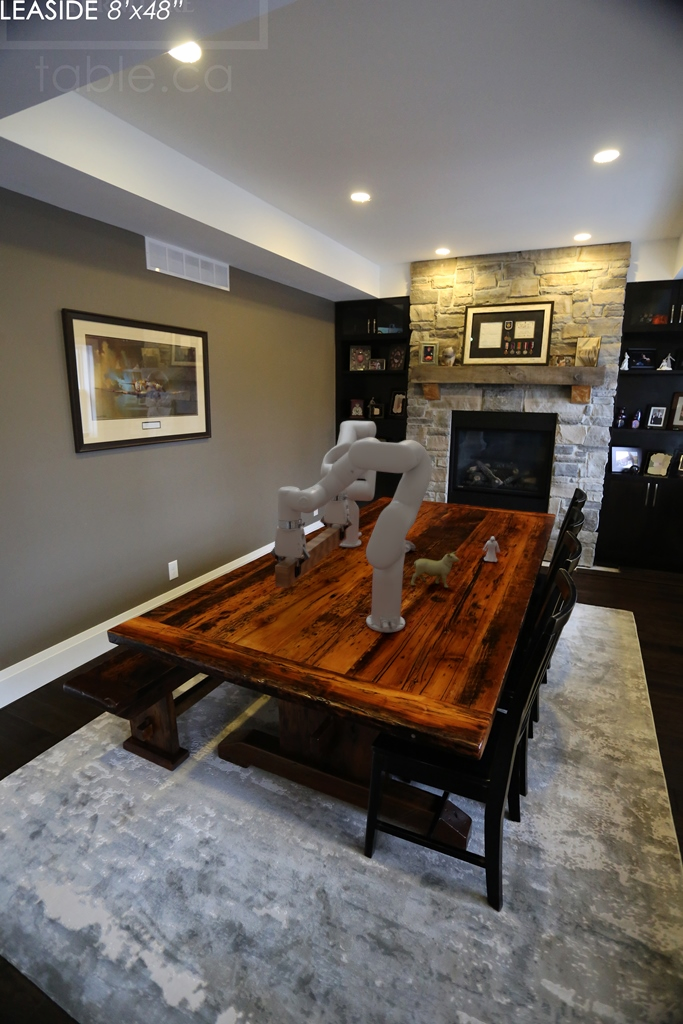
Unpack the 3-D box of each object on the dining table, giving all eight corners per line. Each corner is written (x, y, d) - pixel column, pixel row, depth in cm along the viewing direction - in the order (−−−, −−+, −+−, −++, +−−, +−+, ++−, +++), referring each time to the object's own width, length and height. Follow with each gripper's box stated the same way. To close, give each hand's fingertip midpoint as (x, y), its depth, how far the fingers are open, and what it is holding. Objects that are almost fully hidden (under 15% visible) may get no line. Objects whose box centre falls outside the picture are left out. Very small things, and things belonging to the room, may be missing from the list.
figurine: (481, 562, 222) (483, 536, 219) (482, 556, 230) (484, 531, 227) (499, 564, 220) (501, 538, 217) (499, 558, 228) (501, 533, 225)
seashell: (403, 559, 235) (392, 546, 235) (408, 552, 239) (398, 539, 238) (414, 554, 229) (403, 541, 228) (419, 547, 233) (409, 534, 232)
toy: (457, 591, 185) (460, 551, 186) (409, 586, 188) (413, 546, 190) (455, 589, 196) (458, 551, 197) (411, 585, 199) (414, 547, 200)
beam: (287, 588, 164) (287, 567, 163) (275, 586, 166) (274, 565, 164) (346, 538, 219) (346, 523, 217) (336, 537, 220) (336, 522, 218)
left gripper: (358, 497, 209) (357, 538, 213) (321, 493, 214) (321, 534, 219) (353, 500, 202) (351, 543, 206) (314, 497, 207) (314, 538, 212)
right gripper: (317, 523, 167) (317, 574, 172) (272, 518, 173) (273, 568, 177) (308, 529, 160) (309, 582, 165) (261, 523, 166) (263, 575, 170)
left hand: (336, 538), depth 213 cm, fingers closed on beam, 4 cm apart
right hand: (290, 574), depth 171 cm, fingers closed on beam, 4 cm apart
